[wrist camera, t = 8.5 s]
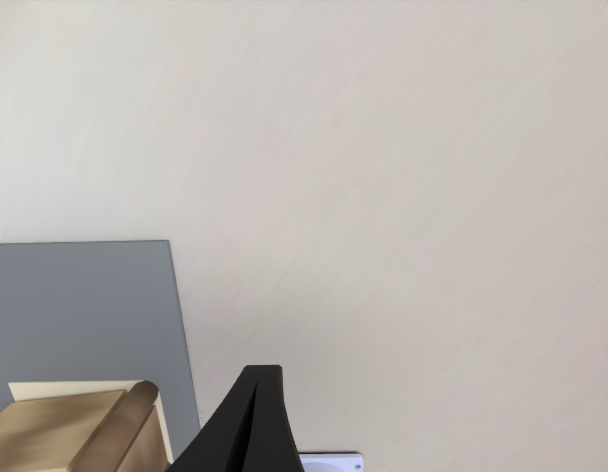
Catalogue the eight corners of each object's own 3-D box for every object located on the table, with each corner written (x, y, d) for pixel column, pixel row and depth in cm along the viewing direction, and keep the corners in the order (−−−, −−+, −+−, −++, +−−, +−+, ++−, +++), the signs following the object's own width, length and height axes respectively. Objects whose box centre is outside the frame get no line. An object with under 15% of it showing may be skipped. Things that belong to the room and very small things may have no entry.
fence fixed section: (175, 471, 25) (135, 569, 19) (152, 471, 25) (105, 569, 19) (156, 380, 22) (103, 461, 16) (130, 380, 22) (68, 462, 16)
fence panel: (123, 389, 22) (53, 482, 16) (129, 404, 22) (62, 499, 16) (10, 402, 22) (-102, 496, 16) (17, 416, 22) (-89, 513, 16)
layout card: (206, 469, 25) (204, 475, 25) (26, 471, 25) (20, 477, 25) (168, 240, 19) (165, 242, 19) (-68, 245, 19) (-77, 247, 19)
